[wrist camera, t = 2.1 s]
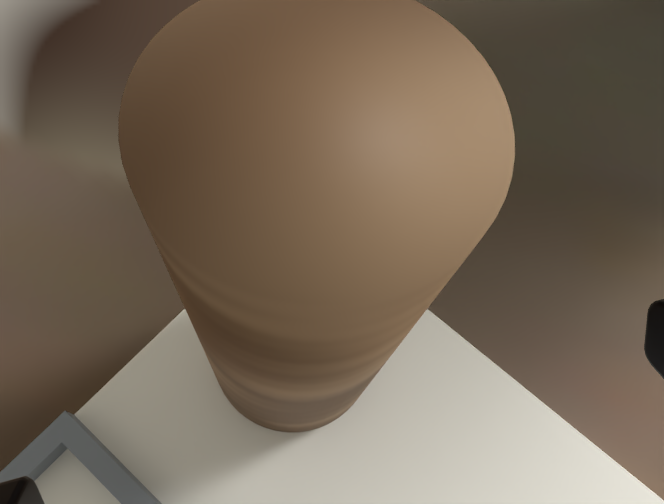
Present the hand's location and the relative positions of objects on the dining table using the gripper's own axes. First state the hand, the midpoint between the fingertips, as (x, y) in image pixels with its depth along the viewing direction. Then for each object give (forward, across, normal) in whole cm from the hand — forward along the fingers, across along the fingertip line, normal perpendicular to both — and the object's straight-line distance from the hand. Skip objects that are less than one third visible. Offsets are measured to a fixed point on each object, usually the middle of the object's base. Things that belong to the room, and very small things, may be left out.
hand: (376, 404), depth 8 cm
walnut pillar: (+9, 0, +5) cm, 10 cm away
